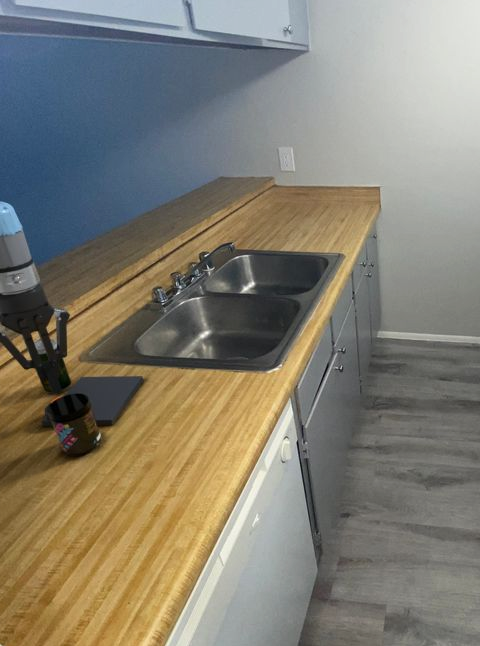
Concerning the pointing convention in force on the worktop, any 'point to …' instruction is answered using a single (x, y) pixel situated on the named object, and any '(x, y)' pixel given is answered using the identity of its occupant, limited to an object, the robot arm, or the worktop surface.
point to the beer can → (64, 378)
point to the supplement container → (74, 424)
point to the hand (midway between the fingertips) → (56, 389)
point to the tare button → (55, 399)
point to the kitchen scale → (104, 396)
